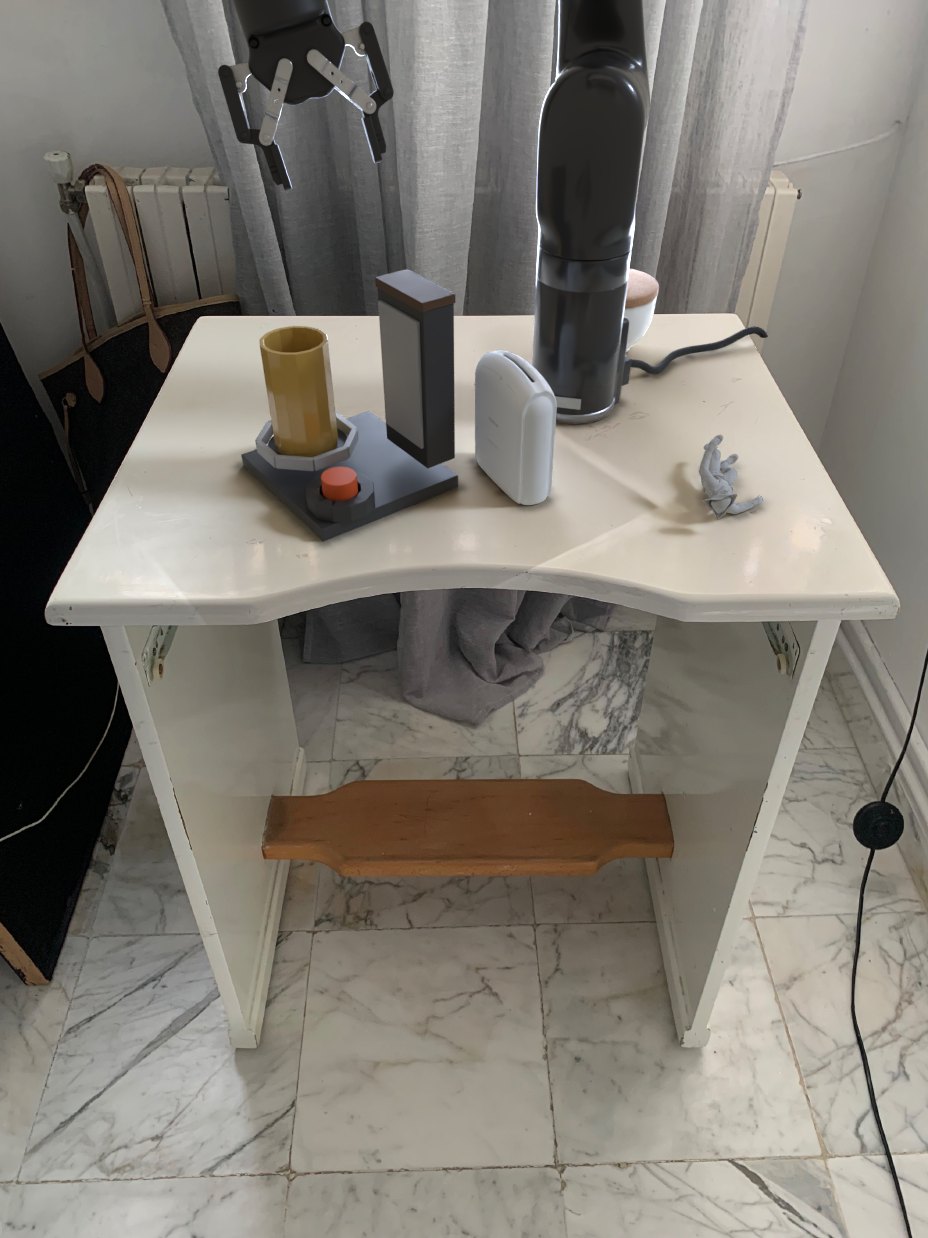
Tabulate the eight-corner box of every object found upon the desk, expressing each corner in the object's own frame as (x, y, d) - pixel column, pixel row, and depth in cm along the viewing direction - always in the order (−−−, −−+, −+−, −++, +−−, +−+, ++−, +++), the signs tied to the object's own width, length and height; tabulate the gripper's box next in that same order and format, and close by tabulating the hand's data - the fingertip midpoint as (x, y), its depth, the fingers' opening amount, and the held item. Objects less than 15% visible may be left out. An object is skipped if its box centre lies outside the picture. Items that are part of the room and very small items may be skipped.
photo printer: (468, 460, 91) (468, 343, 83) (506, 450, 92) (510, 334, 84) (517, 511, 84) (522, 389, 76) (556, 500, 85) (566, 379, 77)
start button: (346, 478, 84) (344, 462, 82) (364, 494, 82) (363, 477, 80) (316, 490, 82) (314, 473, 81) (334, 506, 80) (332, 489, 79)
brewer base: (370, 422, 97) (368, 396, 95) (461, 489, 87) (461, 462, 85) (243, 466, 90) (238, 439, 88) (326, 545, 80) (323, 517, 78)
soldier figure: (756, 479, 90) (783, 512, 79) (716, 509, 92) (737, 546, 81) (709, 419, 88) (730, 445, 77) (669, 451, 90) (684, 481, 79)
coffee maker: (370, 397, 95) (359, 243, 84) (456, 458, 86) (455, 293, 75) (243, 440, 88) (214, 278, 78) (321, 510, 79) (300, 338, 69)
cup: (318, 421, 90) (306, 320, 84) (350, 446, 87) (340, 342, 80) (264, 439, 88) (247, 336, 81) (294, 466, 84) (279, 360, 77)
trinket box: (657, 363, 108) (669, 285, 101) (567, 363, 108) (574, 285, 101) (642, 326, 116) (652, 251, 110) (559, 327, 116) (564, 252, 109)
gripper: (180, -18, 70) (257, 202, 78) (354, -71, 70) (413, 153, 79) (189, -7, 77) (259, 195, 85) (349, -56, 77) (403, 151, 85)
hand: (333, 175), depth 82 cm, fingers open, 8 cm apart
